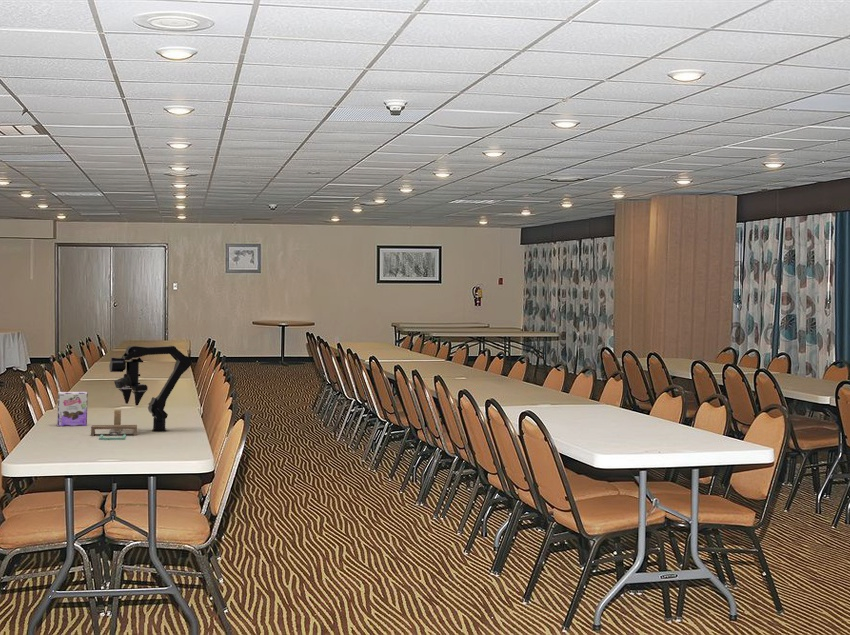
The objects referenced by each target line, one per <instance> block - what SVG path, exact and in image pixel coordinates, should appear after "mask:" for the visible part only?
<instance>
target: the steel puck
mask: <svg viewBox="0 0 850 635" xmlns="http://www.w3.org/2000/svg"><path fill="white" fill-rule="evenodd" d="M109 432H110V431H109ZM119 434H120V433H119V432H116V431H112V432H110V433H109V436H119Z"/></svg>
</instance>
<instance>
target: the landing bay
mask: <svg viewBox="0 0 850 635" xmlns="http://www.w3.org/2000/svg"><path fill="white" fill-rule="evenodd" d="M126 437H127V434H123V436H122V437H104V434H100V436H99V438H98V440H99V441H101V440H103V441H107V440H109V441H113V440H114V441H116V440H117V441H118V440H119V441H121V440H123V441H124V440H125V439H126Z"/></svg>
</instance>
